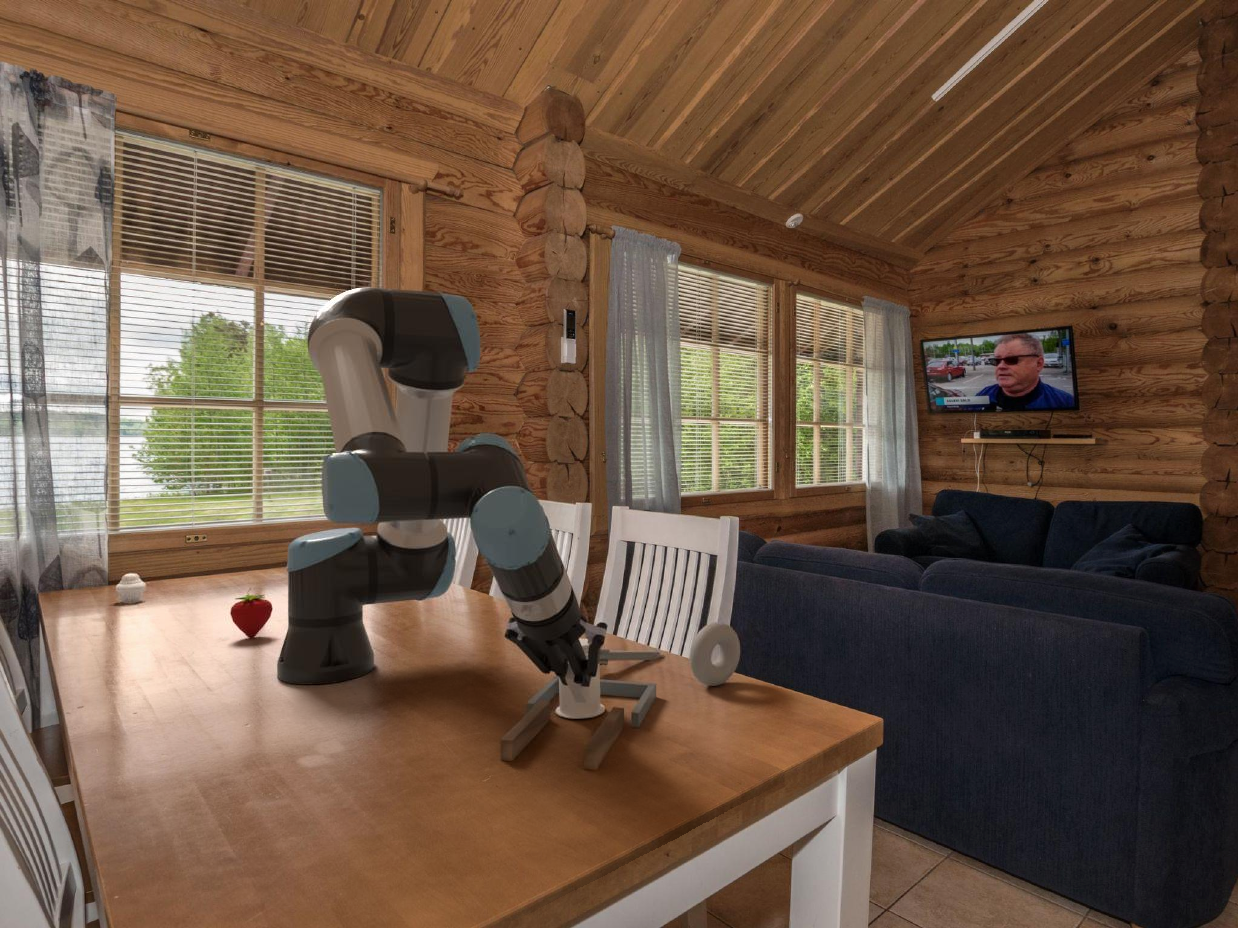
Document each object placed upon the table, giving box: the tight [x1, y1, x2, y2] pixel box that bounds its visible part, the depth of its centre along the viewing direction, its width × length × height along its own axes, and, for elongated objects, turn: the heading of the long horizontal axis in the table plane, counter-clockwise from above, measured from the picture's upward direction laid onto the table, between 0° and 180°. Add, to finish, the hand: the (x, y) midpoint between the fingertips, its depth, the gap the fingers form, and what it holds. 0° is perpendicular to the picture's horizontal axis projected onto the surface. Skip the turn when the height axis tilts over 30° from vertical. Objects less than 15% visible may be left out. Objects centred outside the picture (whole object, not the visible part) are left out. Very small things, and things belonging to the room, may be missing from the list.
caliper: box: [599, 647, 665, 666], centre depth 129 cm, size 20×1×6 cm, turn 132°
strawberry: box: [230, 587, 273, 639], centre depth 148 cm, size 6×8×10 cm
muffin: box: [114, 572, 147, 604], centre depth 180 cm, size 6×6×7 cm
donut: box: [689, 621, 741, 687], centre depth 119 cm, size 10×4×10 cm, turn 129°
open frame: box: [525, 675, 657, 729], centre depth 110 cm, size 16×12×2 cm
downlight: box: [555, 637, 606, 719], centre depth 108 cm, size 8×7×10 cm
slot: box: [500, 701, 625, 771], centre depth 97 cm, size 12×14×2 cm
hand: (582, 693), depth 104 cm, fingers closed
